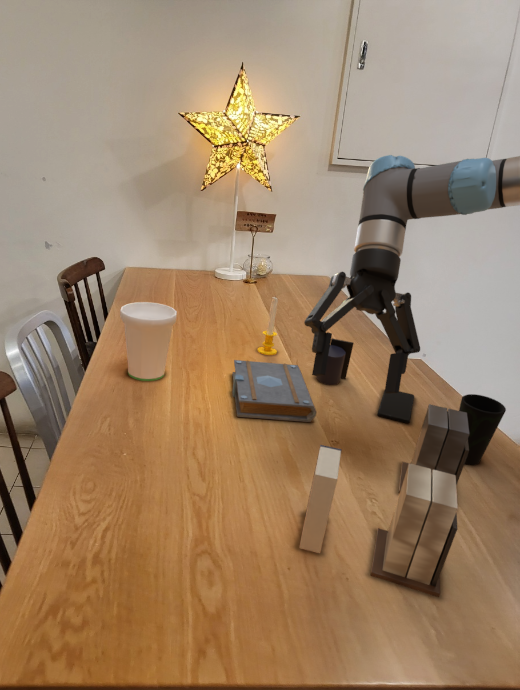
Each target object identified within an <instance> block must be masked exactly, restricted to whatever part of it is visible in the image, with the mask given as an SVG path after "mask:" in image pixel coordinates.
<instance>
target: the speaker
mask: <svg viewBox="0 0 520 690" xmlns="http://www.w3.org/2000/svg"><path fill="white" fill-rule="evenodd" d="M354 344H355V343H354V342H353V341H347V340H342V339H337V338H332V337H331V343H330V349H329V354H328V360H327V366H326V372H325V375H321V376H316V380H317V381H318V383H321V384H324V385H327V386H337V385H338V384H339V383H340V382H341V380H346V379H347V375H348V370H349V365H350V362H351V357H352V352H353V348H354Z"/></svg>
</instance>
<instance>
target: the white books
mask: <svg viewBox="0 0 520 690" xmlns="http://www.w3.org/2000/svg"><path fill="white" fill-rule="evenodd" d="M408 463H409V462H408ZM458 507H459V506H458V492H457V486H456V475H452V474H449V473H445V472H441V471H437V470H432V473H431V469H429V468H426V467H422V466H418V465H414V464H411V462H410V463H409V465H408V468H407V471H406V474H405V478H404V481H403V484H402V487H401V491H400V494H399V493H398V498H397V500H396V504H395V507H394V511H393V514H392V518H391V520H390V523H389V527H388V530H385V529H382V528H379V527H378V528H377V530H376V537H375V542H374V549H373V556H372V561H371V562H372V563H371V569H370V576H371V577H375V578H376V579H377V578H378V579H381V580H383V581H387V582H390V583H393V584H396V585H398V586H402V587H406V588H408V589H412V590H415V591H417V592H422V593H425V594H427V595H429V596H433V597H437V598H440V596H441V573H442V571H443V568H444V566H445V564H446V560H447V558H448V555H449V553H450V550H451V547H452V544H453V542H454V539H455V537H456V534H457V532H458V514H457V511H458Z"/></svg>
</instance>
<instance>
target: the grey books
mask: <svg viewBox="0 0 520 690" xmlns="http://www.w3.org/2000/svg"><path fill="white" fill-rule="evenodd" d="M468 436H469V427H468V418H467V413H466V412H462V411H459V410H457V409H452V408H447V407H443V406H439V405H434V404H432V403H431V404H430V403H428V406H427V410H426V412H425V415H424V419H423V423H422V425H421V429H420V432H419V435H418V438H417V442H416V445H415V448H414V451H413V455H412V458H411V461H410V464H414V465H418V466H422V467H426V468H429V469H431V473H432V470H437V471H441V472H445V473H449V474H452V475H456V487H457V485H458V482H459V480H460V477H461V474H462V471H463V469H464V466H465V464H464V463H465V461H466V458H467V455H468V452H469V446H468ZM408 465H409V462H406V461H401V465H400V474H399V484H398V495H399V494H400V491H401V487H402V484H403V481H404V478H405V474H406V471H407V468H408Z"/></svg>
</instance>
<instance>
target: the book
mask: <svg viewBox="0 0 520 690" xmlns="http://www.w3.org/2000/svg"><path fill="white" fill-rule="evenodd" d="M233 364H234V371H232V383H233V384H232V391H231V393H232V398H234V402H235V409H236V417H237V418H251V419H265V420H279V421H288V422H289V421H291V422H304V423H311V422H312V421H313V419H315V417H316V416H317V410H316V407H315V404H314V403H313V399H312V397H311V394H310V391H309V389H308V387H307V384H306V381H305V379H304V376H303V374H302V372H301V371H302V370H301V369H300V367H299V366H298V364H287V363H276V362H264V361H252V360H240V359H234V360H233Z"/></svg>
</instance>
